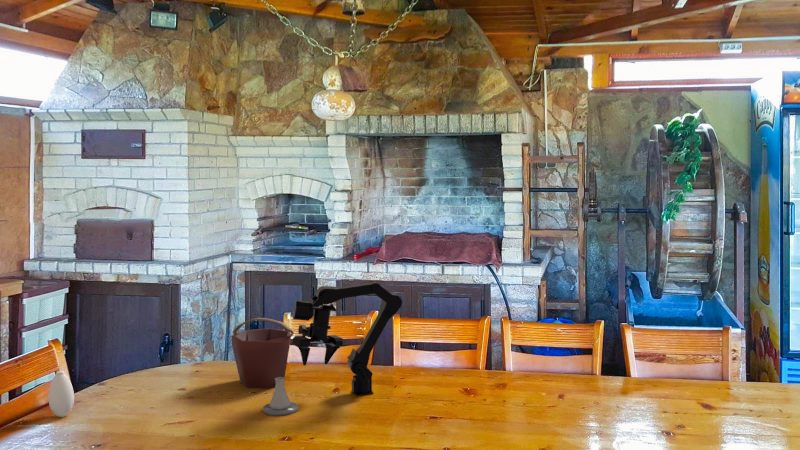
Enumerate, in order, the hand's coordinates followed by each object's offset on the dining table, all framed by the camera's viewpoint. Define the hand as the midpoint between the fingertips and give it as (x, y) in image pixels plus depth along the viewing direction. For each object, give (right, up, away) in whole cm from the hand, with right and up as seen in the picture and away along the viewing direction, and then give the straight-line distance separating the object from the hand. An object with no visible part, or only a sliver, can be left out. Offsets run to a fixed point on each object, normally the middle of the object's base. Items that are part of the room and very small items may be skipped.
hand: (315, 364), depth 270 cm
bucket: (-22, -11, +19) cm, 31 cm away
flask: (-10, -12, -13) cm, 21 cm away
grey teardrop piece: (-83, -14, -17) cm, 86 cm away
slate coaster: (-10, -13, -13) cm, 21 cm away
